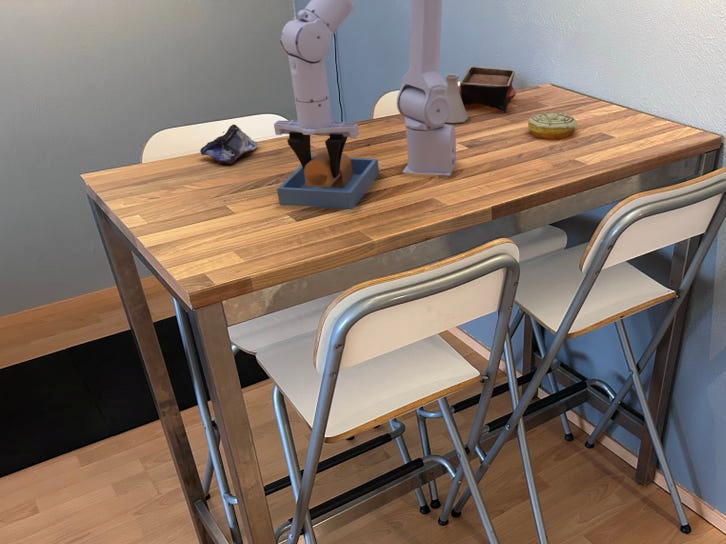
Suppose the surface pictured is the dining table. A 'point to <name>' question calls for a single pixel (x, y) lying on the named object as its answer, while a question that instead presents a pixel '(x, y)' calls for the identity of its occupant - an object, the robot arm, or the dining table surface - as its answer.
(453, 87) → the flask
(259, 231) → the dining table surface
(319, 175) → the bread roll
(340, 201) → the tray
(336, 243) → the dining table surface
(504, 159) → the dining table surface
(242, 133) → the snack package
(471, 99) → the square planter pot
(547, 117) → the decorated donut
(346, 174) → the cylinder
